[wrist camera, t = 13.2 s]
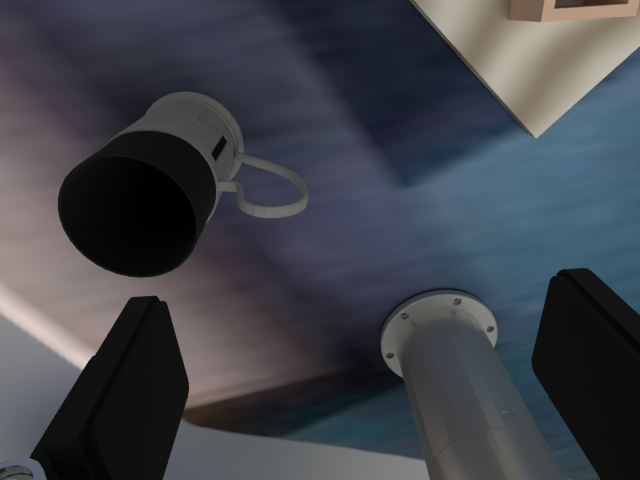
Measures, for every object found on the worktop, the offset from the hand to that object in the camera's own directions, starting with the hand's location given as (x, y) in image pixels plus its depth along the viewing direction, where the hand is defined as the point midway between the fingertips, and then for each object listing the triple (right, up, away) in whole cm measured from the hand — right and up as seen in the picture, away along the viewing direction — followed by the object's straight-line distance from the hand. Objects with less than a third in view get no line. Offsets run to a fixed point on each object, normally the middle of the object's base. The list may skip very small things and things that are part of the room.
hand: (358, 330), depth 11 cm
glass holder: (-9, +10, +27) cm, 30 cm away
